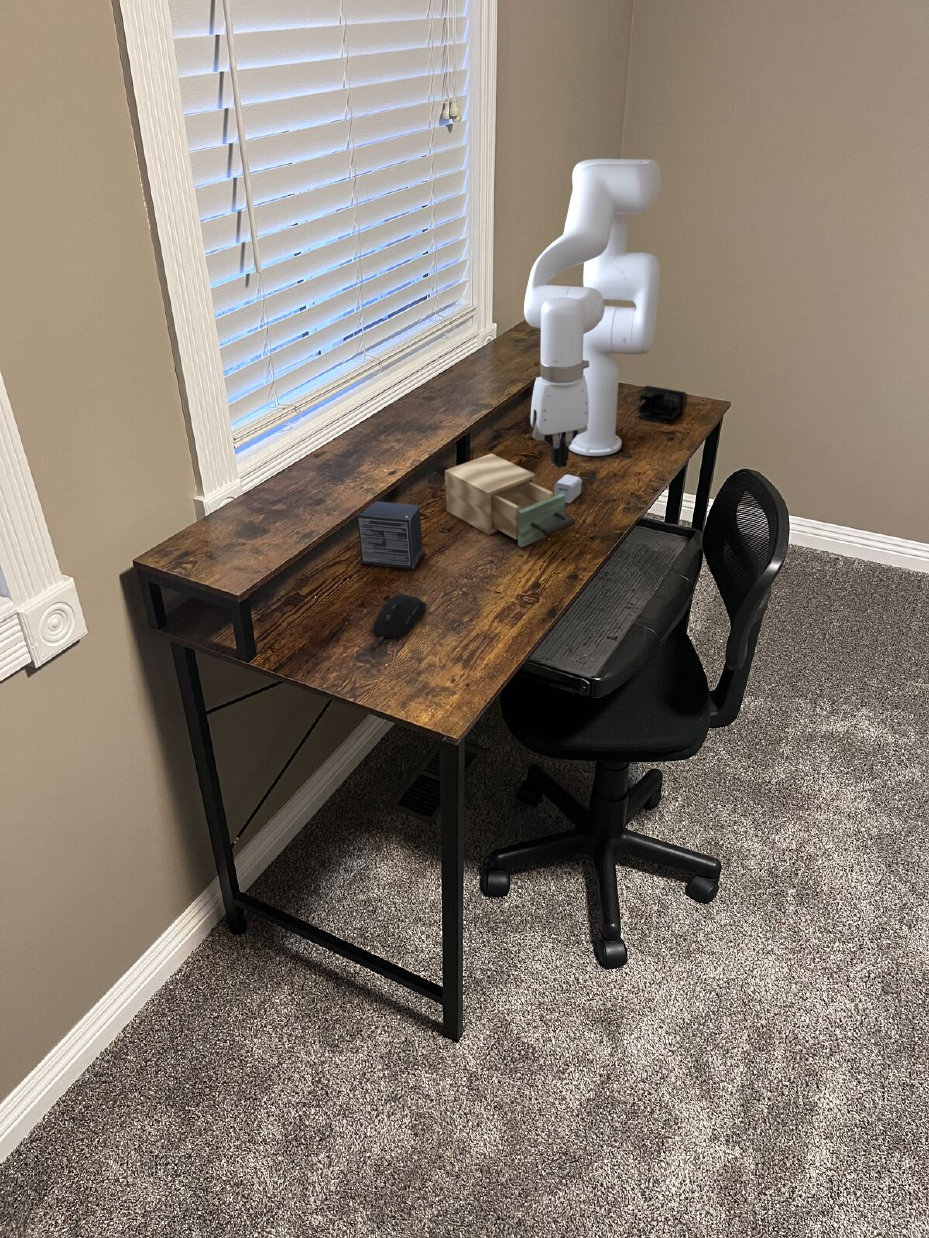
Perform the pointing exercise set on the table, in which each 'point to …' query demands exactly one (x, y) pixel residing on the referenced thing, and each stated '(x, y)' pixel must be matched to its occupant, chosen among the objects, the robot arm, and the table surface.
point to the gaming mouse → (398, 616)
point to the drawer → (528, 512)
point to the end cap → (662, 404)
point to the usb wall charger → (568, 487)
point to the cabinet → (480, 488)
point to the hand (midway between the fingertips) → (559, 464)
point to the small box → (390, 535)
